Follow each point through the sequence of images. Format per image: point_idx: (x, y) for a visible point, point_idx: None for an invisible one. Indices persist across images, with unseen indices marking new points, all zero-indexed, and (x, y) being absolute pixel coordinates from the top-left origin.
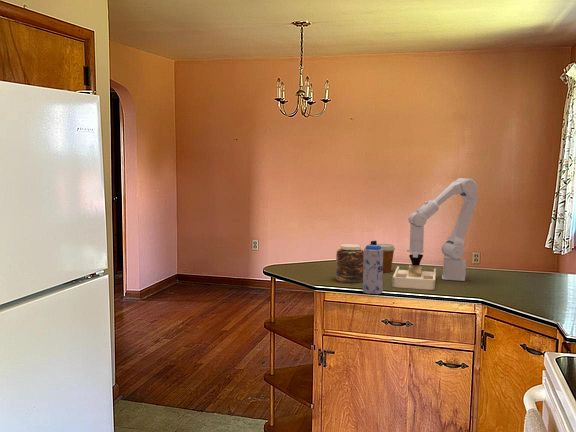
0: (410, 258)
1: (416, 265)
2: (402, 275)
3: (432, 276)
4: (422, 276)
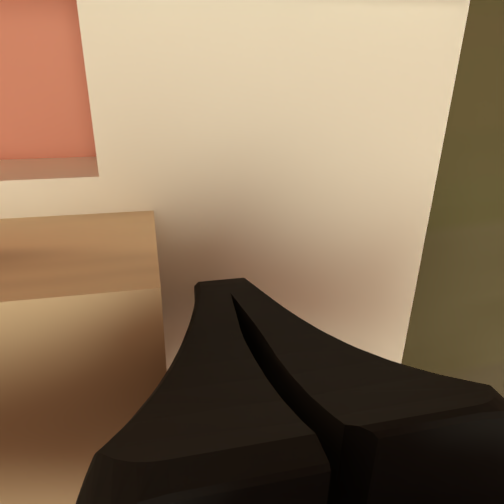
0: (107, 446)
1: None
2: (89, 89)
3: None
4: None
